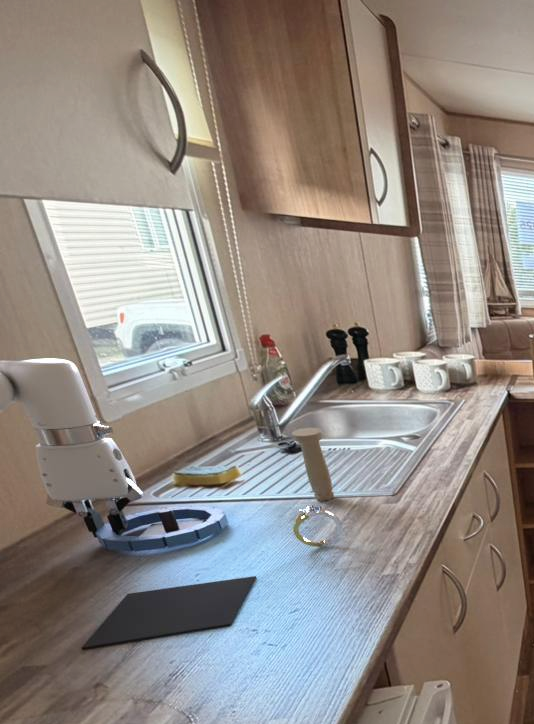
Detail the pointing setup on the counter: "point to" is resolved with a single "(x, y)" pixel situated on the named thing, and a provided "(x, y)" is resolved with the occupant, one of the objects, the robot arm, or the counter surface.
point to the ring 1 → (200, 531)
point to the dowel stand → (170, 523)
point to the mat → (172, 612)
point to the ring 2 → (311, 512)
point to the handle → (315, 462)
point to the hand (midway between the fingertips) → (110, 532)
